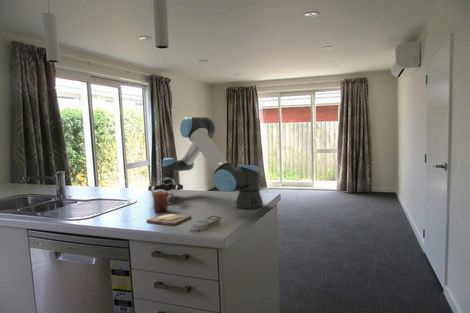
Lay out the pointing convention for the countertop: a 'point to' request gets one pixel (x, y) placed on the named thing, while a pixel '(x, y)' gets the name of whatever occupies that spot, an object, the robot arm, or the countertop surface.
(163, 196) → the mug
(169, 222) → the board
